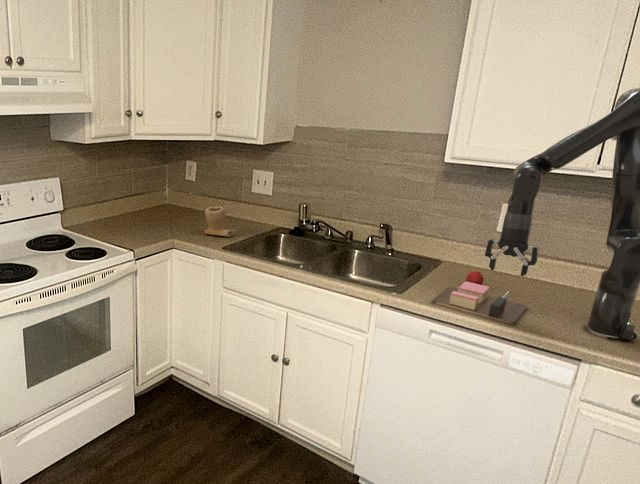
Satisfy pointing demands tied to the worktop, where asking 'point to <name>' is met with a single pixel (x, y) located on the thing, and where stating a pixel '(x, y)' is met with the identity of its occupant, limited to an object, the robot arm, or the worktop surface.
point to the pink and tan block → (463, 300)
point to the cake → (475, 290)
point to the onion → (475, 277)
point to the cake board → (486, 306)
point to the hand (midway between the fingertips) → (507, 272)
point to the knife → (498, 306)
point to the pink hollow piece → (217, 222)
